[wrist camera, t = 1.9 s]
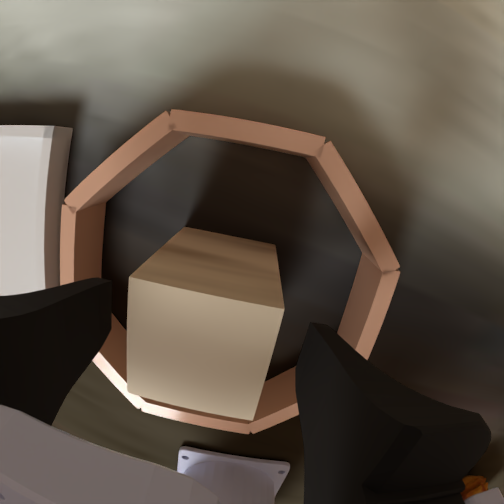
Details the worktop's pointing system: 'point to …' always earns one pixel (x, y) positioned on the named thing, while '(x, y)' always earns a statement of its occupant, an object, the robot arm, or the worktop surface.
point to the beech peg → (204, 322)
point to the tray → (31, 205)
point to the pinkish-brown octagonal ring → (252, 134)
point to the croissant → (473, 485)
